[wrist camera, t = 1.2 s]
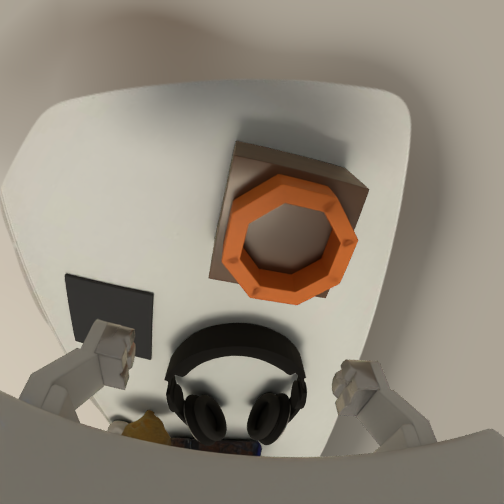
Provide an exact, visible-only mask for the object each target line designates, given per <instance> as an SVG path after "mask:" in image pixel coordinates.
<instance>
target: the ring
mask: <svg viewBox="0 0 504 504" xmlns="http://www.w3.org/2000/svg"><path fill="white" fill-rule="evenodd" d="M284 203H287V204H291V205H296V206H300V207H304V208H309V209H313V210H317V211H321V212H324V214H325V216H326V218H327V220H328V222H329V223H330V225H331V227H332V231H331V234H330V237H329V239H328V242H327V245H326V247H325V250H324V253H323V255H322V258H321V259H320V260H318V261H316V262H314V263H312V264H310V265H308V266H307V267H305V268H303V269H301V270H299V271H297V272H295V273H293V274H286V273H280V272H275V271H269V270H263V269H259V268H258V267H257V265H256V264H255V263H254V261H253V260H252V259H251V257H250V256H249V255H248V253H247V252H246V250H245V249H244V248H243V245H244V241H245V237H246V233H247V229H248V225H249V223H251V222H253V221H255V220H256V219H258V218H260V217H262V216H263V215H265V214H267V213H268V212H270V211H272V210H274V209H275V208H277V207H279V206H281V205H283V204H284ZM357 242H358V239H357V237H356V234H355V232H354V230H353V228H352V226H351V224H350V222H349V220H348V218H347V216H346V214H345V212H344V210H343V208H342V206H341V204H340V202H339V200H338V198H337V197H336V195H335V194H334V193H333V192H332V190H331V189H330V188H329V187H328V186H325V185H322V184H318V183H314V182H310V181H306V180H302V179H298V178H294V177H290V176H285V175H281V174H277V175H276V176H274V177H272V178H270V179H269V180H267V181H265V182H264V183H262V184H260V185H258V186H257V187H255V188H253V189H252V190H250V191H248V192H247V193H245V194H243V195H242V196H240V197H238V198H237V199H235V200H233V203H232V207H231V212H230V216H229V221H228V225H227V230H226V235H225V239H224V244H223V252H222V263H223V264H224V266H225V267H226V268H227V269H228V271H229V272H230V273H231V274H232V276H233V277H234V278H235V279H236V281H237V282H238V283H239V285H240V286H241V287H242V288H243V289H244V291H245V292H246V293H247V294H248V296H249V297H250V298H255V299H261V300H267V301H274V302H280V303H286V304H293V305H298V304H300V303H302V302H304V301H306V300H308V299H310V298H312V297H314V296H316V295H318V294H320V293H322V292H324V291H326V290H328V289H330V288H332V287H334V286H336V285H338V284H339V283H340V282H341V280H342V277H343V275H344V273H345V270H346V268H347V266H348V263H349V261H350V259H351V256H352V254H353V252H354V249H355V247H356V244H357Z"/></svg>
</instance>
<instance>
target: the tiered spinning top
mask: <svg viewBox="0 0 504 504" xmlns="http://www.w3.org/2000/svg"><path fill="white" fill-rule="evenodd" d="M128 424H129V423H127V422H124V421H113V422H112V424H110V426H109V427H108V432H111V433H115V434H119V435H121V434H122V433H123V431H124V428H125V426H127V425H128Z"/></svg>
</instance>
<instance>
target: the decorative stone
mask: <svg viewBox="0 0 504 504" xmlns="http://www.w3.org/2000/svg"><path fill="white" fill-rule="evenodd" d="M121 435H122V436H126V437H130V438H135V439H139V440H143V441H148V442H153V443H157V444H163V445H168V446H171V438H170V436H169V434H168V432H167V431H166V430H165V428H164V425H163V423H162V421H161V420H160V419H159V418H158V417H156V416H155V415H154V412H153V411H151V410H147V411H146V412H145V414H144V416H143V417H142V418H140V419H139V420H137V421H135V422H132V423H129V424H128V425H127V426H125V428H124V431H123V433H122V434H121Z"/></svg>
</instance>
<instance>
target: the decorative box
mask: <svg viewBox="0 0 504 504" xmlns="http://www.w3.org/2000/svg"><path fill="white" fill-rule="evenodd" d="M171 446H173V447H179V448H185V449H192V450H199V451H206V452H214V453H223V454H234V455H246V456H260V455H261V450H262V448H261V445H260V443H259V442H258V441H232V440H220V441H216V442H215V443H214V444H213V445H211V446H205V445H203V444H201V443H200V442H199V441H198V440H196V439H192V440H191V439H190V438H176V437H175V438H171Z"/></svg>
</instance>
